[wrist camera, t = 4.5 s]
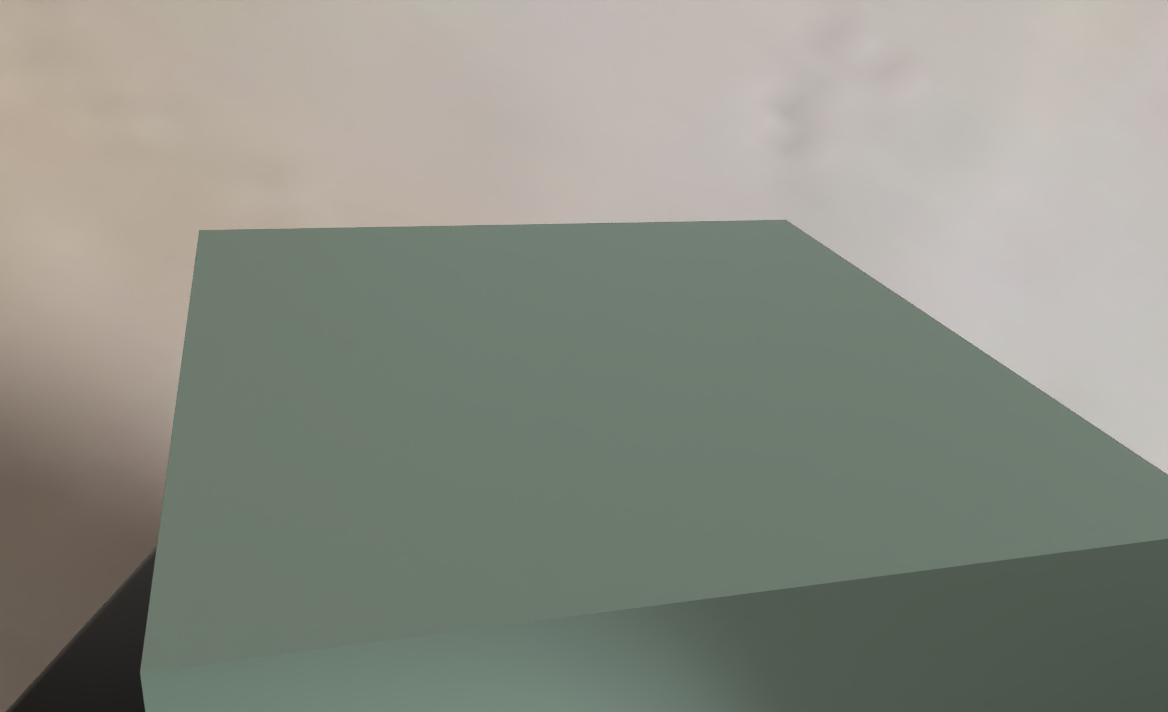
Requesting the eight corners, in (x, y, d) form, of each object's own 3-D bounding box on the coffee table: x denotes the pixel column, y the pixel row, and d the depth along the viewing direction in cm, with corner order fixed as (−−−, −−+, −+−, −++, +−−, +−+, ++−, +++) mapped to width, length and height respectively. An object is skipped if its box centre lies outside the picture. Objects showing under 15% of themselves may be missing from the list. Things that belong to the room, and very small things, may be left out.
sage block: (717, 655, 11) (1003, 1140, 7) (240, 726, 10) (235, 1385, 6) (786, 219, 9) (1247, 528, 5) (198, 230, 8) (140, 673, 4)
